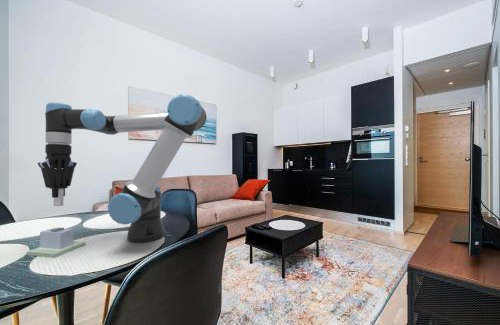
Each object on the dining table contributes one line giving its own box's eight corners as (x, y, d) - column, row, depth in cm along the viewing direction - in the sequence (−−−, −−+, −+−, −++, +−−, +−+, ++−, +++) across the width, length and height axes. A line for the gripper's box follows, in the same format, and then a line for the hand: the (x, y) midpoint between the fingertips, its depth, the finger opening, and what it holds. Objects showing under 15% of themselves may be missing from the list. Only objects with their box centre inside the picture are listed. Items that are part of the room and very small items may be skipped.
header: (85, 244, 88) (85, 231, 88) (54, 257, 76) (54, 242, 76) (60, 242, 90) (60, 230, 90) (26, 255, 78) (26, 240, 78)
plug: (73, 244, 84) (73, 227, 84) (60, 249, 80) (60, 231, 80) (54, 243, 86) (54, 226, 86) (40, 247, 81) (40, 230, 81)
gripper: (67, 145, 90) (66, 202, 90) (31, 142, 77) (30, 208, 77) (82, 145, 89) (82, 202, 89) (49, 142, 76) (48, 209, 76)
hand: (58, 205), depth 83 cm, fingers closed
